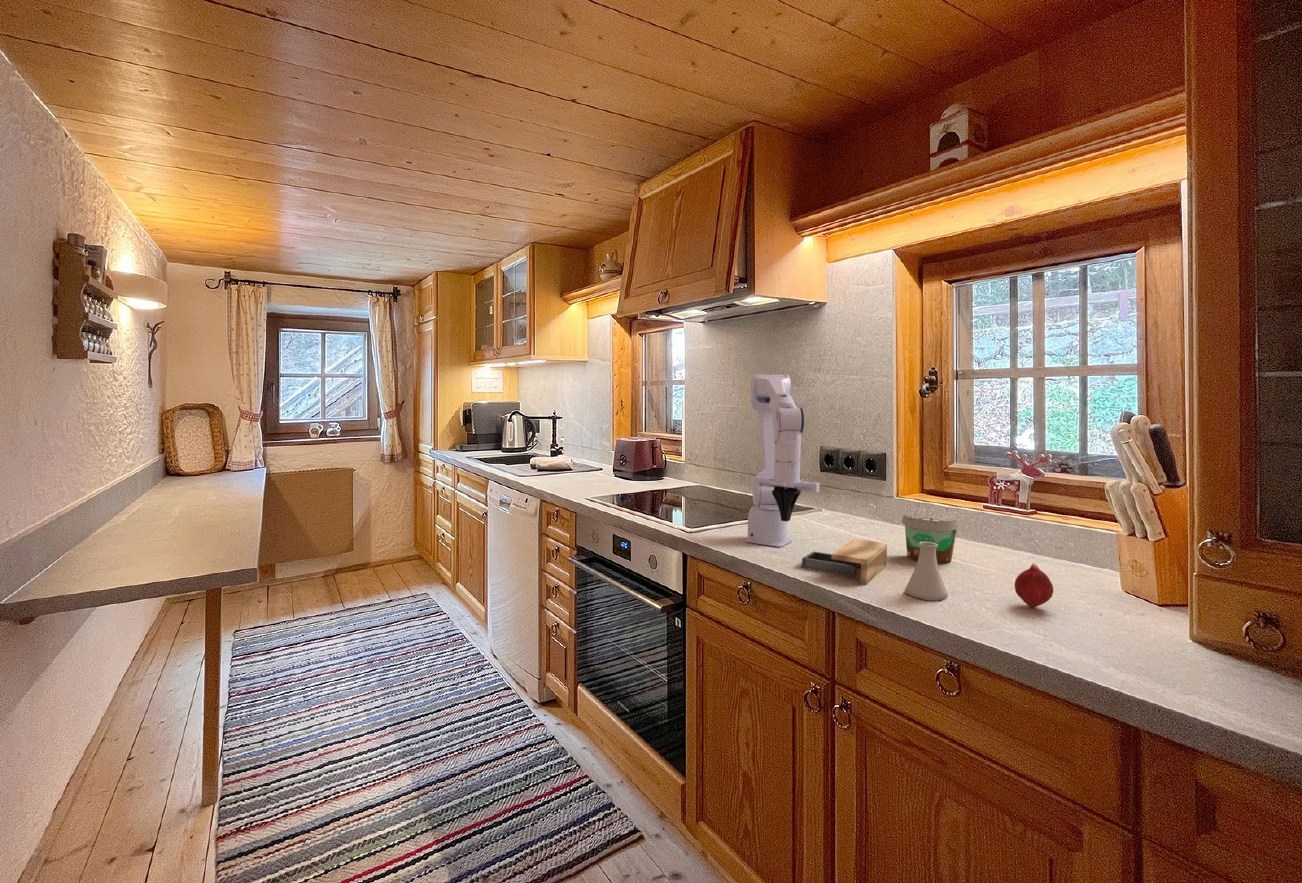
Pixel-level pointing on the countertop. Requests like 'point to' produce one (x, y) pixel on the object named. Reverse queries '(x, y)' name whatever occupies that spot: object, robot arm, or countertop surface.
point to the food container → (930, 536)
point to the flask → (926, 575)
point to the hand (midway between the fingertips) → (785, 520)
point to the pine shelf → (864, 557)
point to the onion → (1033, 586)
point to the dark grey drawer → (829, 564)
